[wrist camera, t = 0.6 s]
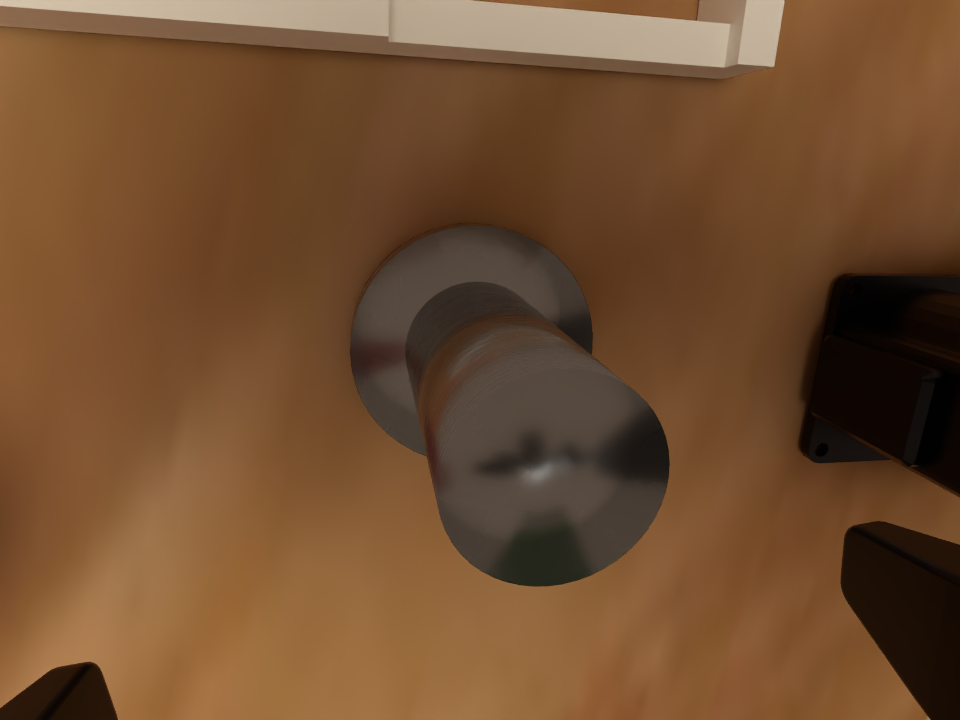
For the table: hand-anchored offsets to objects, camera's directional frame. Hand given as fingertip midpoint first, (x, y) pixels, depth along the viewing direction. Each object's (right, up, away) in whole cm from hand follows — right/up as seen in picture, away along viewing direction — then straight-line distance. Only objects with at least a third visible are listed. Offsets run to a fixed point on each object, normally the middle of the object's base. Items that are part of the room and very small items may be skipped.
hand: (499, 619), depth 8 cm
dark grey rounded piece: (-1, +4, +12) cm, 12 cm away
